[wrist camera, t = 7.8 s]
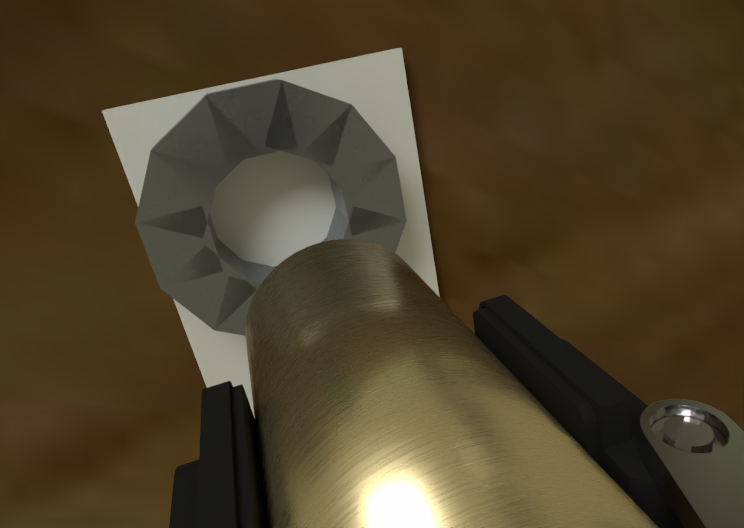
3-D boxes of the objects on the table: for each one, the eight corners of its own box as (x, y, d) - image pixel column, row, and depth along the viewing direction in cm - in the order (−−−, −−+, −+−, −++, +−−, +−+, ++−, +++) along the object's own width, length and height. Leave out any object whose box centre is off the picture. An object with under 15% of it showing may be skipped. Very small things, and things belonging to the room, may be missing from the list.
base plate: (395, 48, 28) (403, 47, 27) (447, 381, 37) (455, 391, 36) (105, 109, 25) (100, 111, 24) (235, 454, 34) (236, 468, 33)
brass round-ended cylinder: (412, 217, 14) (745, 478, 5) (437, 373, 16) (705, 749, 7) (220, 269, 13) (234, 694, 4) (273, 428, 15) (355, 933, 6)
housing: (362, 60, 27) (379, 59, 24) (401, 278, 32) (419, 297, 29) (108, 114, 25) (95, 119, 22) (193, 341, 29) (191, 368, 27)
